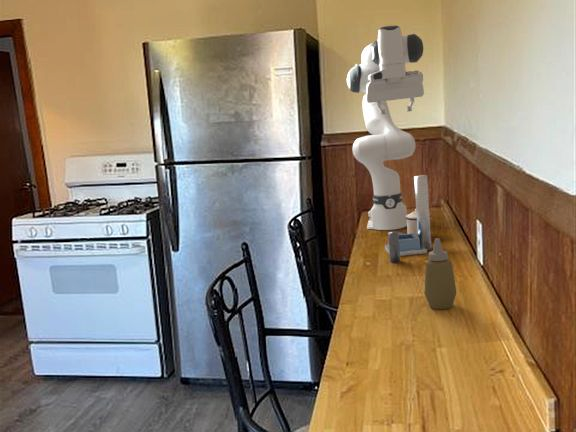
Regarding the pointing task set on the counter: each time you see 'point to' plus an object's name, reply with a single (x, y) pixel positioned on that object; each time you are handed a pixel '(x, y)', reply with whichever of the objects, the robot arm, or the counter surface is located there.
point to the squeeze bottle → (439, 279)
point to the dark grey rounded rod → (394, 246)
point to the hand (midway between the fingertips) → (396, 112)
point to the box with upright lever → (412, 242)
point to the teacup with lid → (412, 223)
